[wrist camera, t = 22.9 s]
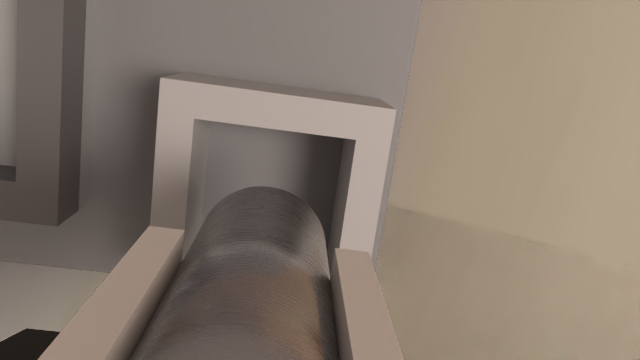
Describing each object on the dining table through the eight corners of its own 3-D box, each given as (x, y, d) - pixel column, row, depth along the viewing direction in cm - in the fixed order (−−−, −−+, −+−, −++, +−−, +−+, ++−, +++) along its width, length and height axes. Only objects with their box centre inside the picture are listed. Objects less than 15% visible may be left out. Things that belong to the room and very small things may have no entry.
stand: (-263, 216, 24) (-423, 265, 19) (-316, -254, 20) (-541, -363, 15) (366, 287, 26) (384, 349, 21) (436, -129, 22) (481, -185, 17)
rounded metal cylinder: (193, 296, 16) (14, 716, 6) (205, 177, 15) (22, 435, 5) (315, 312, 16) (339, 740, 6) (334, 195, 15) (397, 474, 5)
